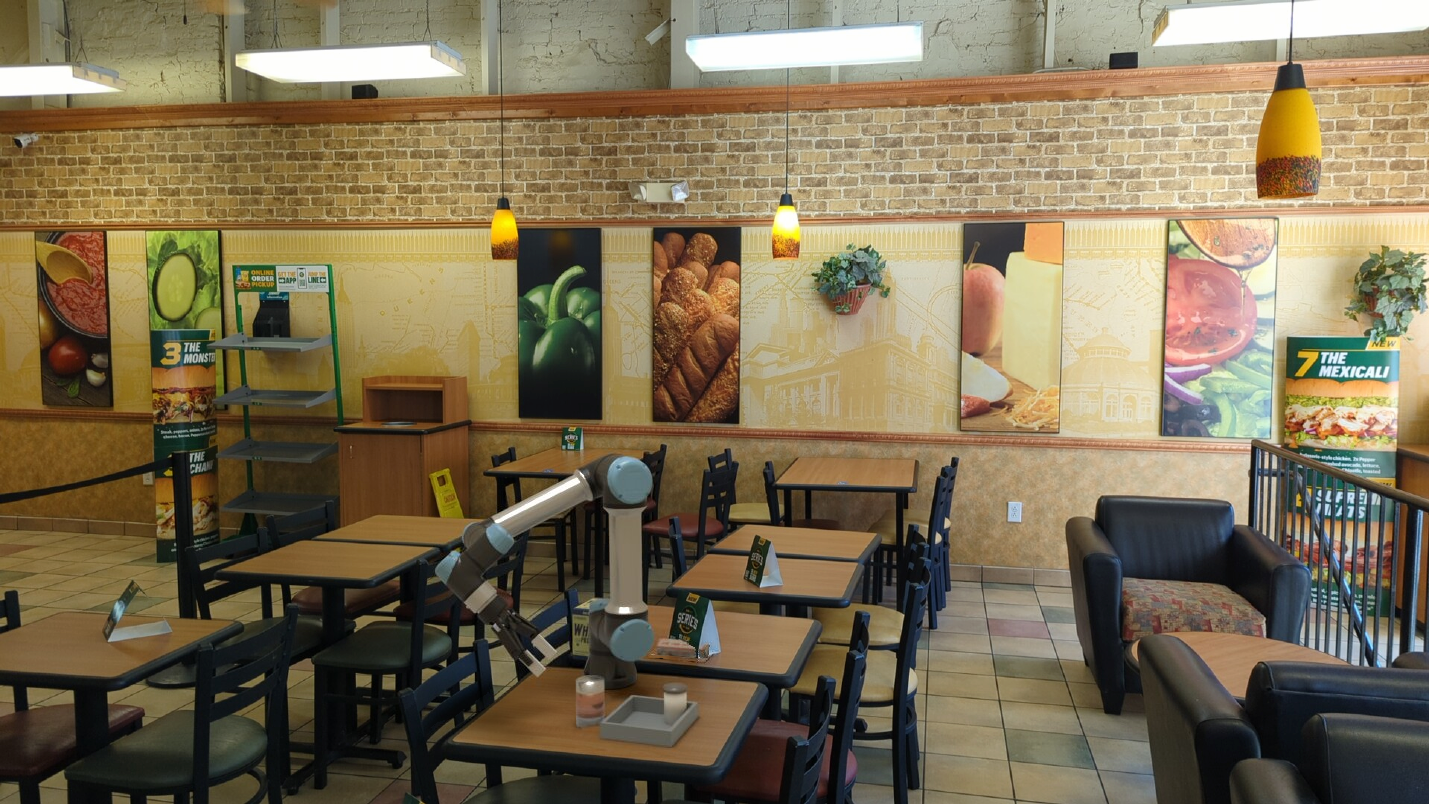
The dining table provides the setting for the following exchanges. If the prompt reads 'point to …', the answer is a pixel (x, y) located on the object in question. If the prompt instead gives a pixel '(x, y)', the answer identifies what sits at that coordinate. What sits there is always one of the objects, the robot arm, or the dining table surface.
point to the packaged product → (680, 649)
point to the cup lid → (675, 688)
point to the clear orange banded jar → (590, 700)
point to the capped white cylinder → (674, 707)
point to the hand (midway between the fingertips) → (547, 664)
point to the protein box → (581, 630)
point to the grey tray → (646, 722)
